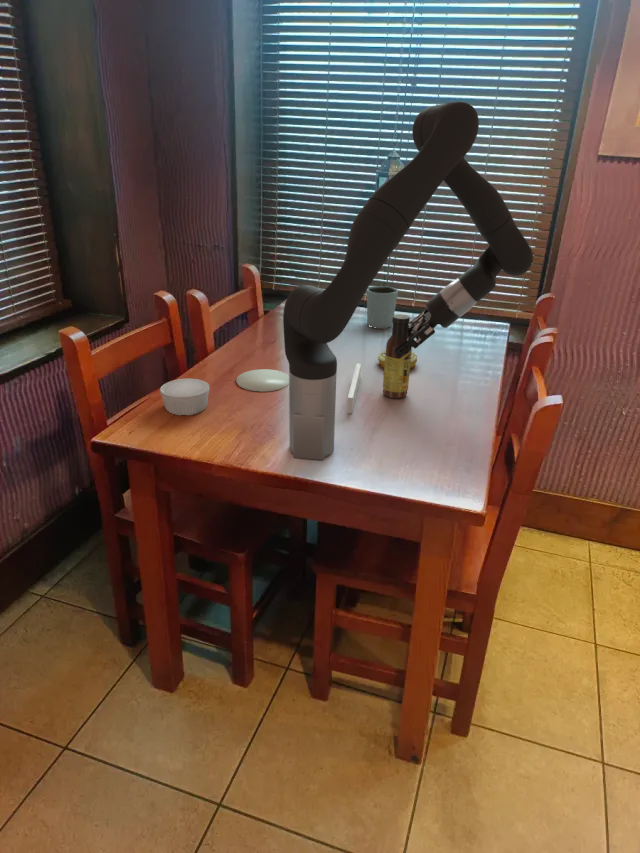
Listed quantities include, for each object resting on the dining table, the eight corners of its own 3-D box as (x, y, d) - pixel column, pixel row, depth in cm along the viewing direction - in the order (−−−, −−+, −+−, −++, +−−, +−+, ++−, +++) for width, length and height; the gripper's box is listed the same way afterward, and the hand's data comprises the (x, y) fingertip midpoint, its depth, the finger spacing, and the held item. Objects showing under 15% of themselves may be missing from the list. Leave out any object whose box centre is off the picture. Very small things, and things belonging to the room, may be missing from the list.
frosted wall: (352, 413, 139) (352, 397, 137) (347, 413, 139) (347, 397, 137) (360, 377, 158) (361, 363, 156) (355, 377, 158) (356, 363, 156)
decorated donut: (370, 364, 168) (370, 351, 166) (397, 356, 174) (398, 343, 172) (396, 375, 161) (397, 362, 159) (423, 366, 166) (425, 354, 165)
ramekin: (159, 401, 143) (156, 381, 140) (205, 395, 146) (204, 375, 144) (165, 421, 133) (163, 400, 131) (215, 414, 137) (213, 393, 135)
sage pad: (284, 393, 148) (284, 392, 148) (229, 389, 150) (229, 387, 149) (295, 372, 160) (295, 371, 160) (244, 368, 162) (244, 367, 162)
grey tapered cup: (361, 327, 196) (363, 291, 191) (368, 319, 205) (370, 284, 199) (392, 331, 194) (395, 294, 188) (397, 322, 202) (400, 287, 197)
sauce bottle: (406, 401, 146) (413, 322, 136) (380, 398, 147) (386, 319, 138) (408, 390, 151) (415, 314, 142) (383, 388, 152) (389, 312, 143)
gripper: (440, 283, 142) (388, 326, 149) (442, 299, 129) (385, 345, 136) (460, 306, 144) (407, 348, 150) (463, 324, 131) (406, 369, 138)
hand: (397, 347), depth 143 cm, fingers open, 8 cm apart
